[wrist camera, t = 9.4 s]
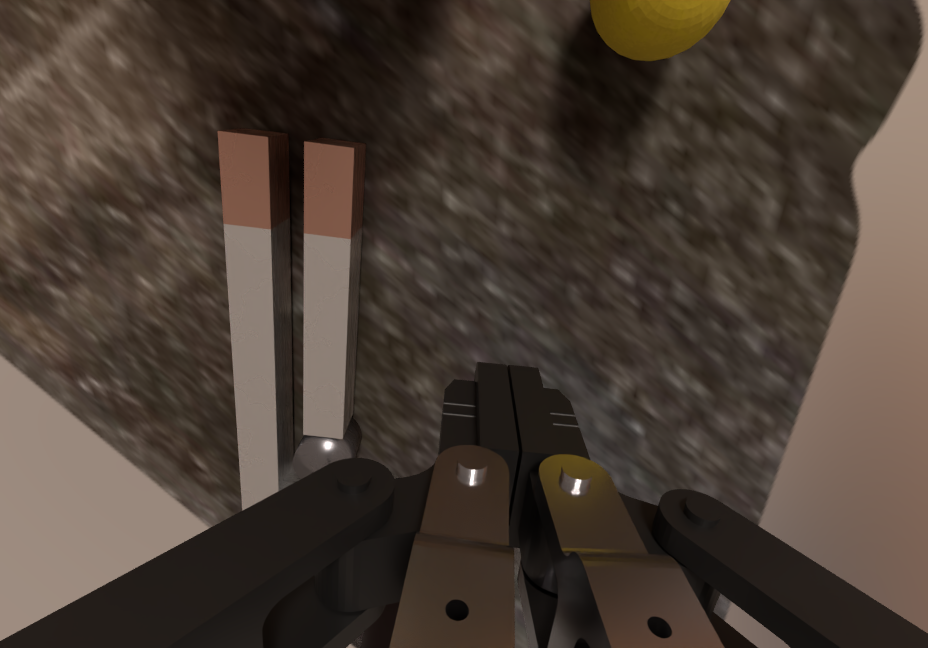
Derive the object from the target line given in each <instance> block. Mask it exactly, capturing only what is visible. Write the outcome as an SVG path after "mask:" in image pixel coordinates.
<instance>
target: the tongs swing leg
mask: <svg viewBox="0 0 928 648" xmlns="http://www.w3.org/2000/svg"><path fill="white" fill-rule="evenodd" d="M365 158H366V143H359V142H351V141H344V140H336V139H328V138H317V139H313V140H308V141H304V393H303V435H304V436H303V438H302V440H301V442H300V444H299V446H298V448H297V450H296V452H295V454H294V457H293V468H294V470H295V472H296V474H297V476H298V477H299V478H300V479H302V478H304V477H306V476H308V475H310V474H312V473H313V472H315V471H317V470H319V469H321V468H323V467H325V466H326V465H328V464H330V463H333V462H335V461H338V460H342V459H347V458H355V457H356V454H357V451H358V448H359V445H360V442H361V437H362V433H361V429H360V427H359V425H358V423H357V422H356V421H355V420H354V419H353V418H352V415H353V410H354V389H355V368H356V347H357V326H358V305H359V284H360V263H361V242H362V221H363V200H364V179H365Z"/></svg>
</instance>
